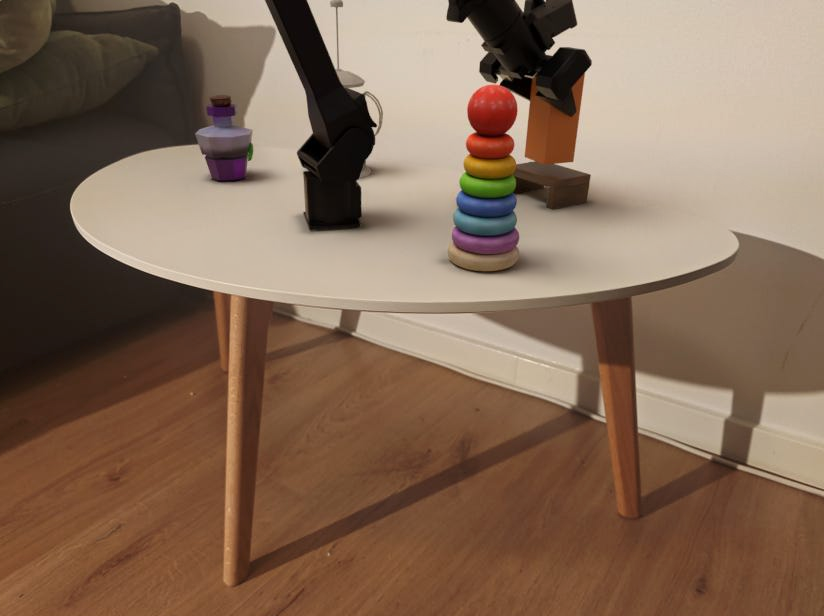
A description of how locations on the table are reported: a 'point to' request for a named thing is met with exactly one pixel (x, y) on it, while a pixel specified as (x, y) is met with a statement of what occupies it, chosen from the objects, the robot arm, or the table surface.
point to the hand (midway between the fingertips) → (562, 111)
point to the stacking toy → (487, 186)
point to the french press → (354, 83)
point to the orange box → (552, 129)
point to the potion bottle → (225, 142)
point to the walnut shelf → (553, 183)
